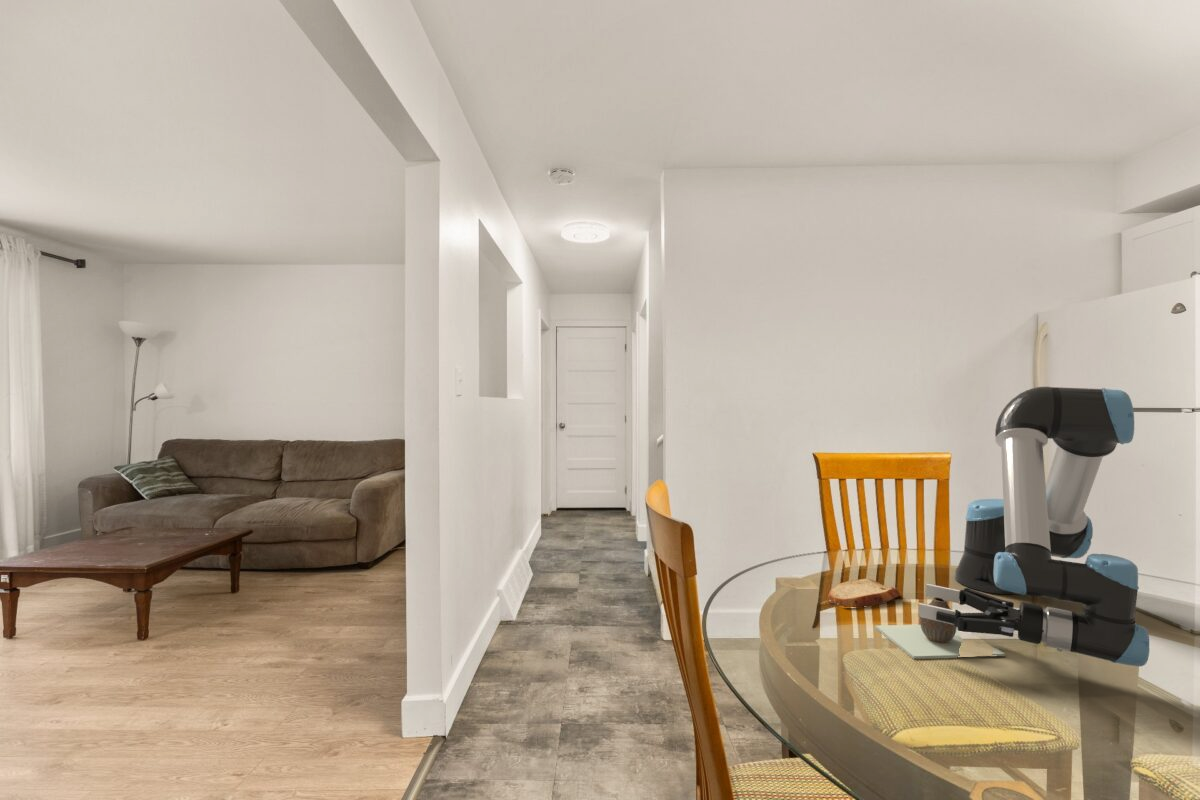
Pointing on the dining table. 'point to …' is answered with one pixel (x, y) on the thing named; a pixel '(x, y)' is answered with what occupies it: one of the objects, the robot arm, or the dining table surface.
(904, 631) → the mat
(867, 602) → the slice of bread
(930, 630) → the vase
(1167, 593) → the dining table surface
